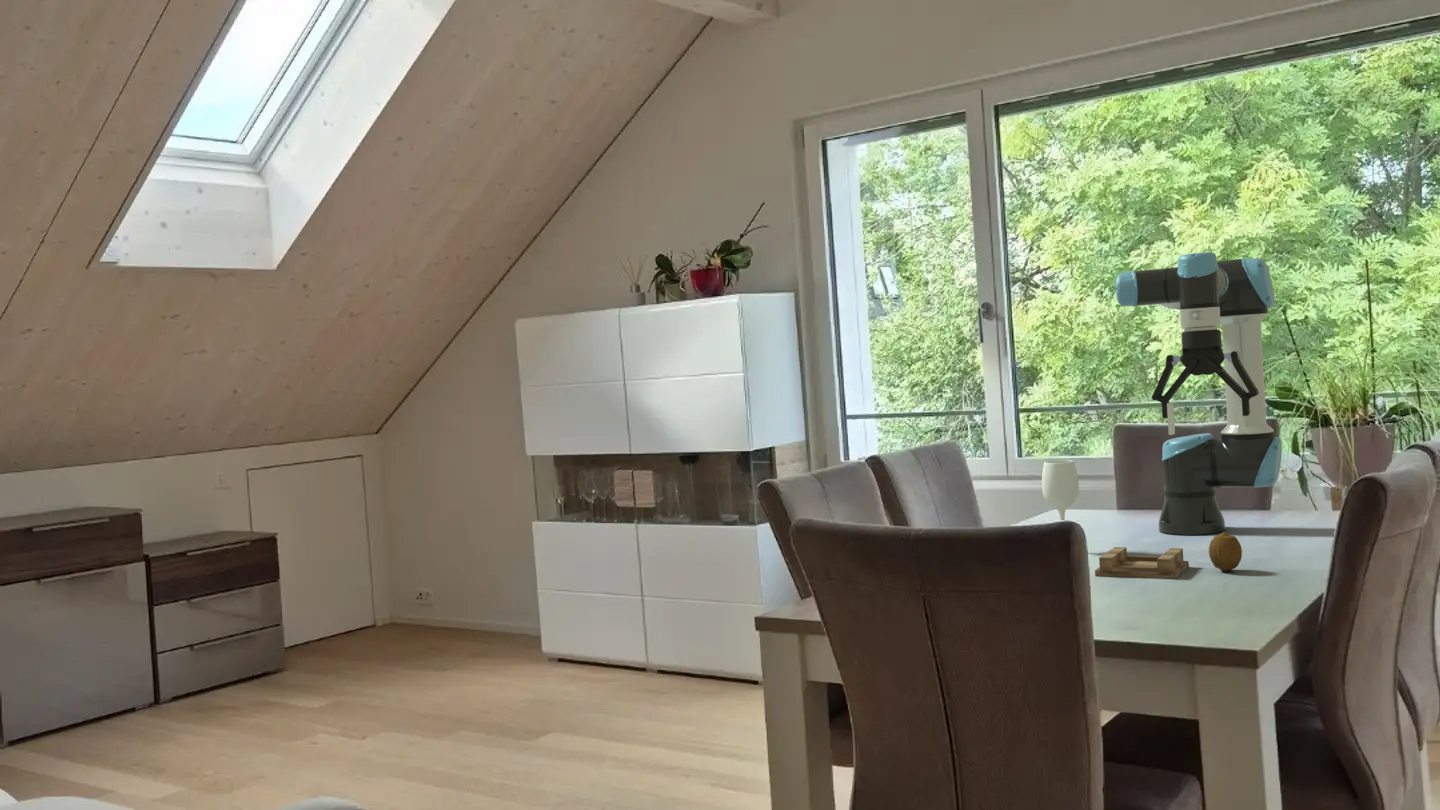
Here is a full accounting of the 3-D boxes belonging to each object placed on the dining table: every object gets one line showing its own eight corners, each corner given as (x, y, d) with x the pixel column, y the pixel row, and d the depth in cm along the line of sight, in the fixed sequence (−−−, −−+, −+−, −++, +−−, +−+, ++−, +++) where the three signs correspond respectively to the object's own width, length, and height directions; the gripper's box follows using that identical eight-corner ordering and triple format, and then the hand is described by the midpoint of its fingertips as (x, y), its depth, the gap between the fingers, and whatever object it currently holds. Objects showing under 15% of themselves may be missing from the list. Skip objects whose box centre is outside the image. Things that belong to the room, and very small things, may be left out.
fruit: (1203, 571, 255) (1200, 532, 254) (1226, 567, 257) (1224, 528, 257) (1226, 575, 249) (1224, 535, 248) (1250, 571, 251) (1247, 532, 251)
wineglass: (1085, 554, 283) (1079, 462, 282) (1045, 555, 285) (1040, 464, 284) (1082, 548, 291) (1076, 458, 291) (1043, 549, 293) (1038, 460, 292)
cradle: (1110, 564, 269) (1109, 547, 269) (1188, 566, 260) (1187, 548, 260) (1095, 576, 258) (1094, 557, 258) (1176, 578, 249) (1175, 559, 249)
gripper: (1133, 334, 257) (1139, 436, 258) (1264, 325, 244) (1270, 433, 245) (1141, 333, 264) (1147, 433, 264) (1269, 324, 250) (1275, 429, 251)
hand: (1206, 433), depth 255 cm, fingers open, 13 cm apart
